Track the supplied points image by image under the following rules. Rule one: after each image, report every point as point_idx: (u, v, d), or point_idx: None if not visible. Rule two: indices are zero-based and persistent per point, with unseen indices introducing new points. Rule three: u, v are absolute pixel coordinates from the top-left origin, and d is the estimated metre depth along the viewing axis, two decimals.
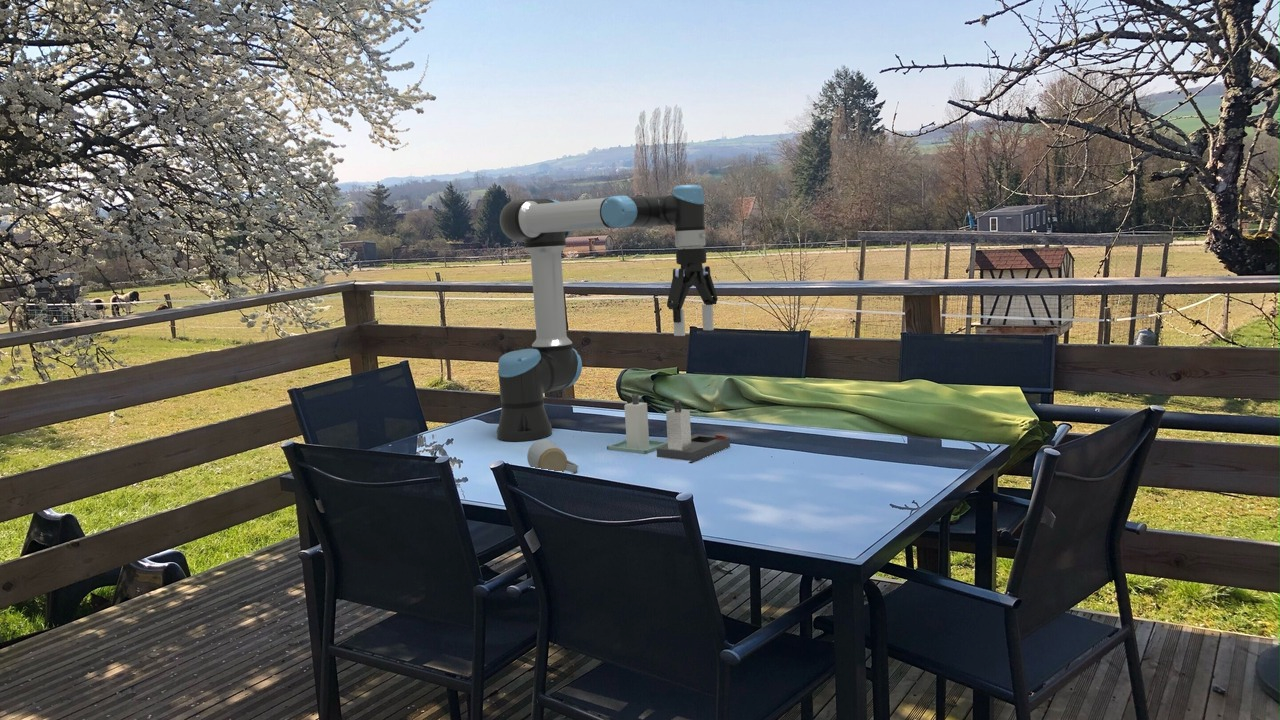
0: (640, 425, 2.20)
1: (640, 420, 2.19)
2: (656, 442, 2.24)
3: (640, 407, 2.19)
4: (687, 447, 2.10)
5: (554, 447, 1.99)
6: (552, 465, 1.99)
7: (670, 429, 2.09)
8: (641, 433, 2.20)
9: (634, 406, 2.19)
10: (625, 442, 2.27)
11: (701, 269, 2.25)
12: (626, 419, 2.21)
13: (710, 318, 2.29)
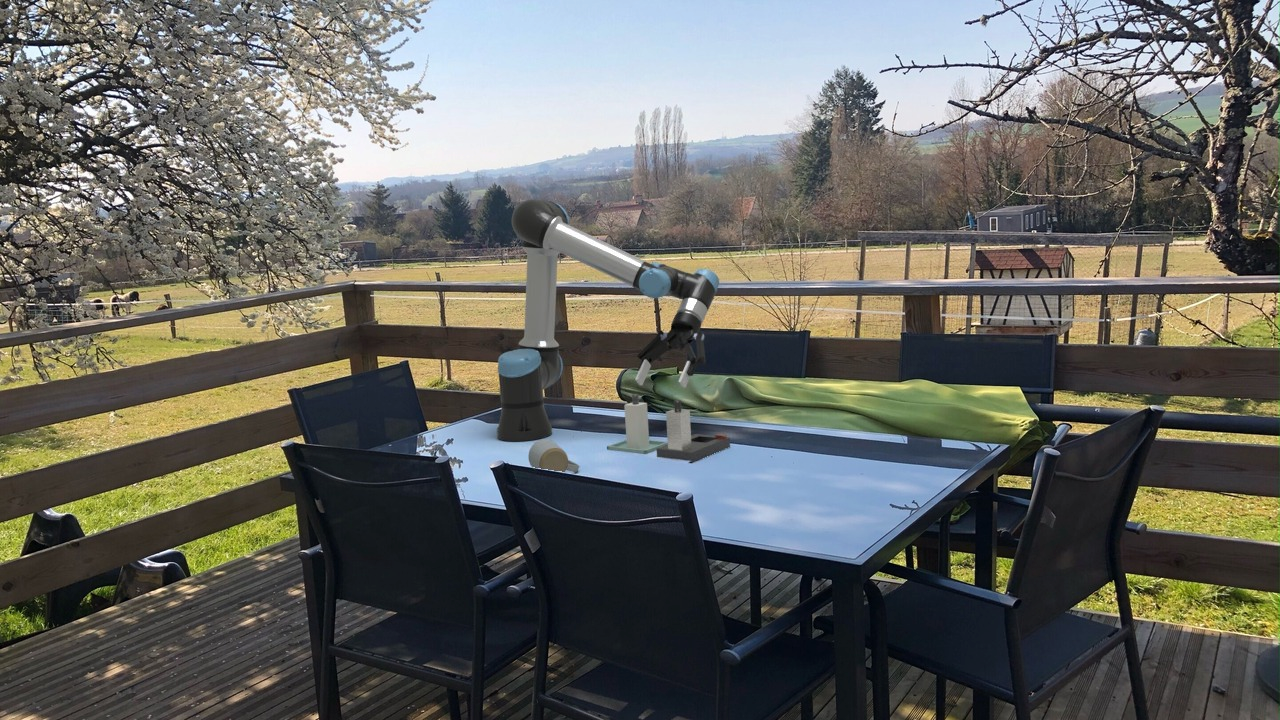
0: (640, 425, 2.20)
1: (640, 420, 2.19)
2: (656, 442, 2.24)
3: (640, 407, 2.19)
4: (687, 447, 2.10)
5: (555, 447, 2.00)
6: (553, 465, 1.99)
7: (670, 429, 2.09)
8: (641, 433, 2.20)
9: (634, 406, 2.19)
10: (625, 442, 2.27)
11: None
12: (626, 419, 2.21)
13: (645, 375, 2.35)
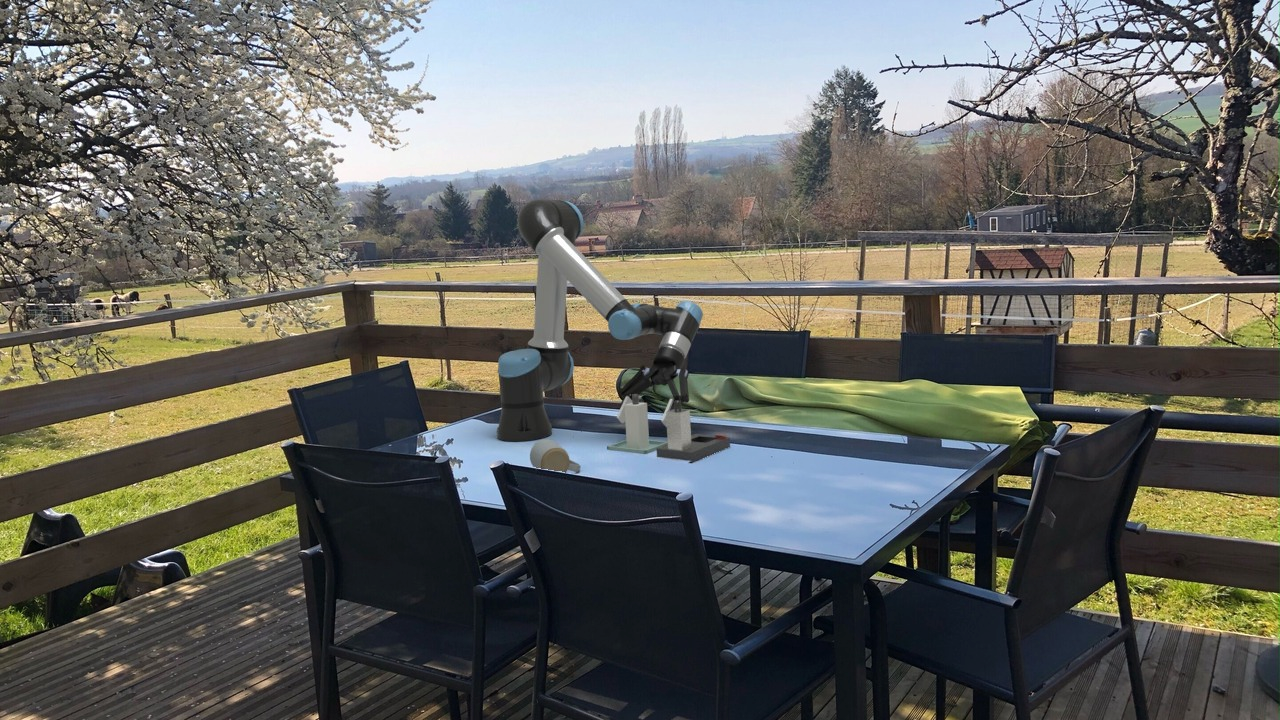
0: (640, 425, 2.20)
1: (640, 420, 2.19)
2: (656, 442, 2.24)
3: (640, 407, 2.19)
4: (687, 447, 2.10)
5: (557, 447, 2.00)
6: (555, 464, 1.99)
7: (670, 429, 2.09)
8: (641, 433, 2.20)
9: (634, 406, 2.19)
10: (625, 442, 2.27)
11: None
12: (626, 419, 2.21)
13: None
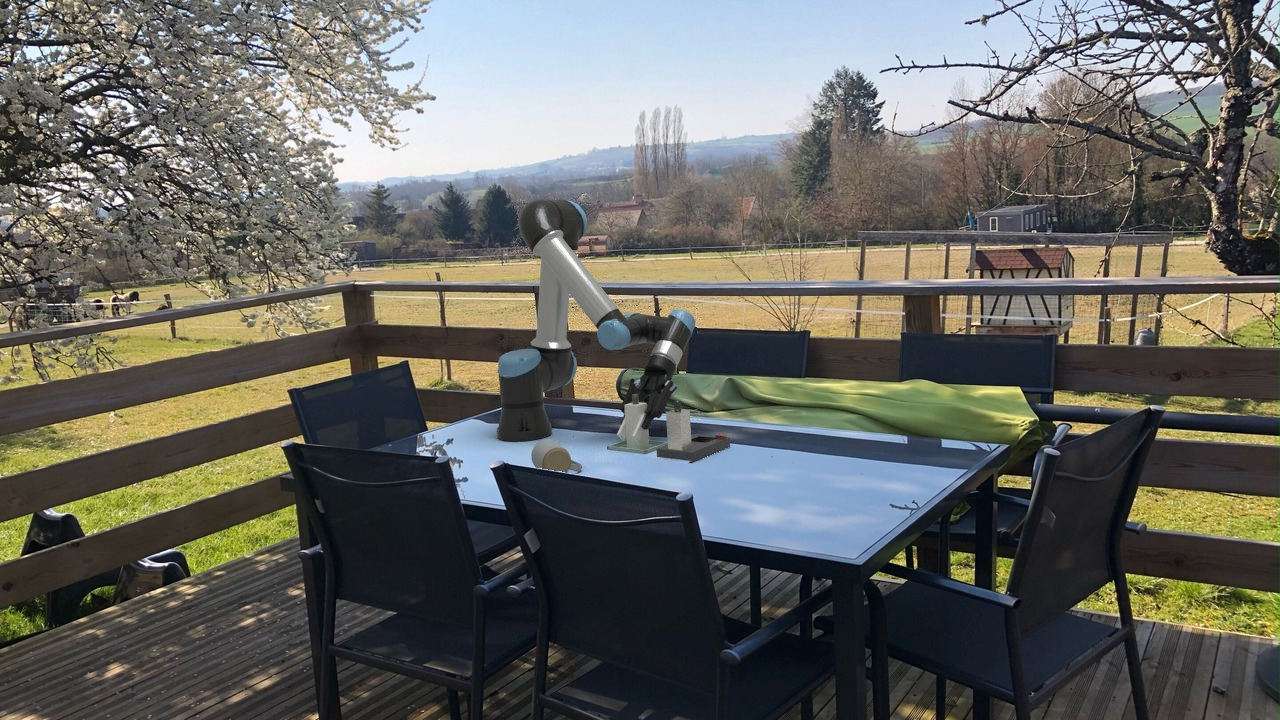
0: None
1: None
2: (656, 442, 2.24)
3: (640, 407, 2.19)
4: (687, 447, 2.10)
5: (558, 446, 2.00)
6: (556, 464, 1.99)
7: (670, 429, 2.09)
8: None
9: (634, 406, 2.19)
10: (625, 442, 2.27)
11: None
12: (626, 419, 2.21)
13: None
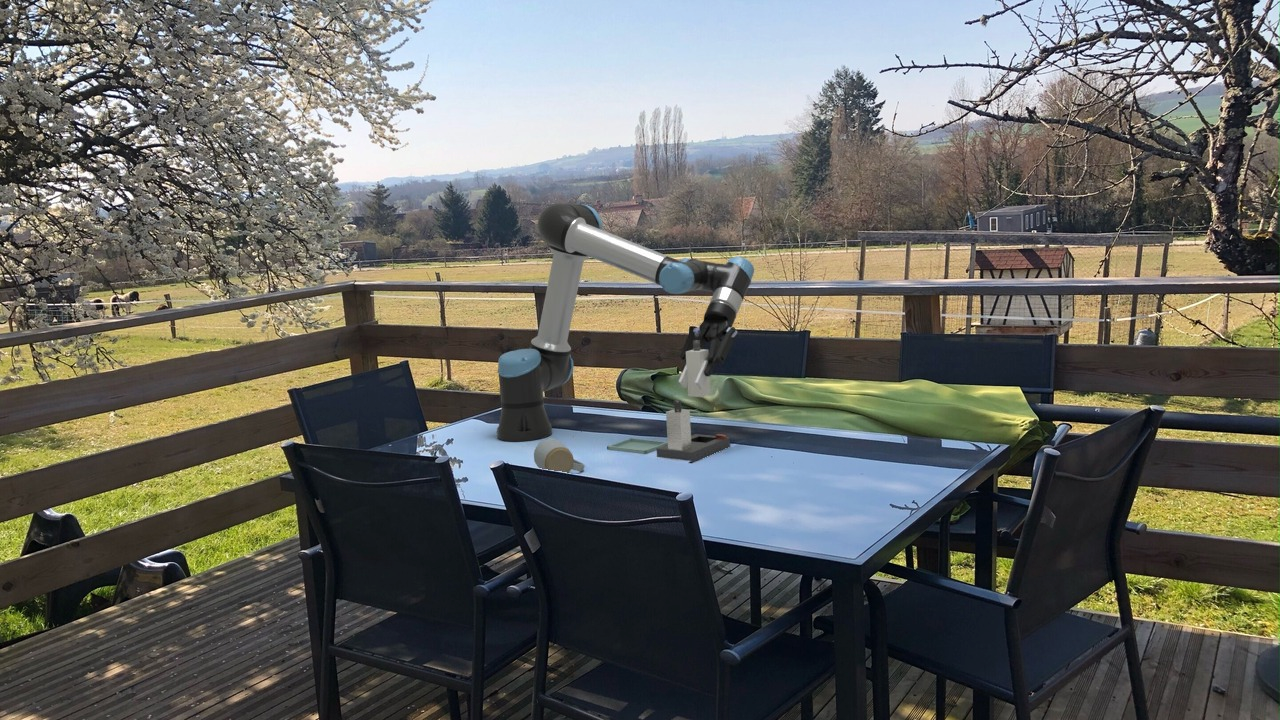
0: None
1: None
2: (656, 442, 2.24)
3: (702, 354, 2.14)
4: (687, 447, 2.10)
5: (561, 446, 2.00)
6: (559, 464, 1.99)
7: (670, 429, 2.09)
8: None
9: (696, 352, 2.13)
10: (625, 442, 2.27)
11: None
12: (687, 366, 2.15)
13: None
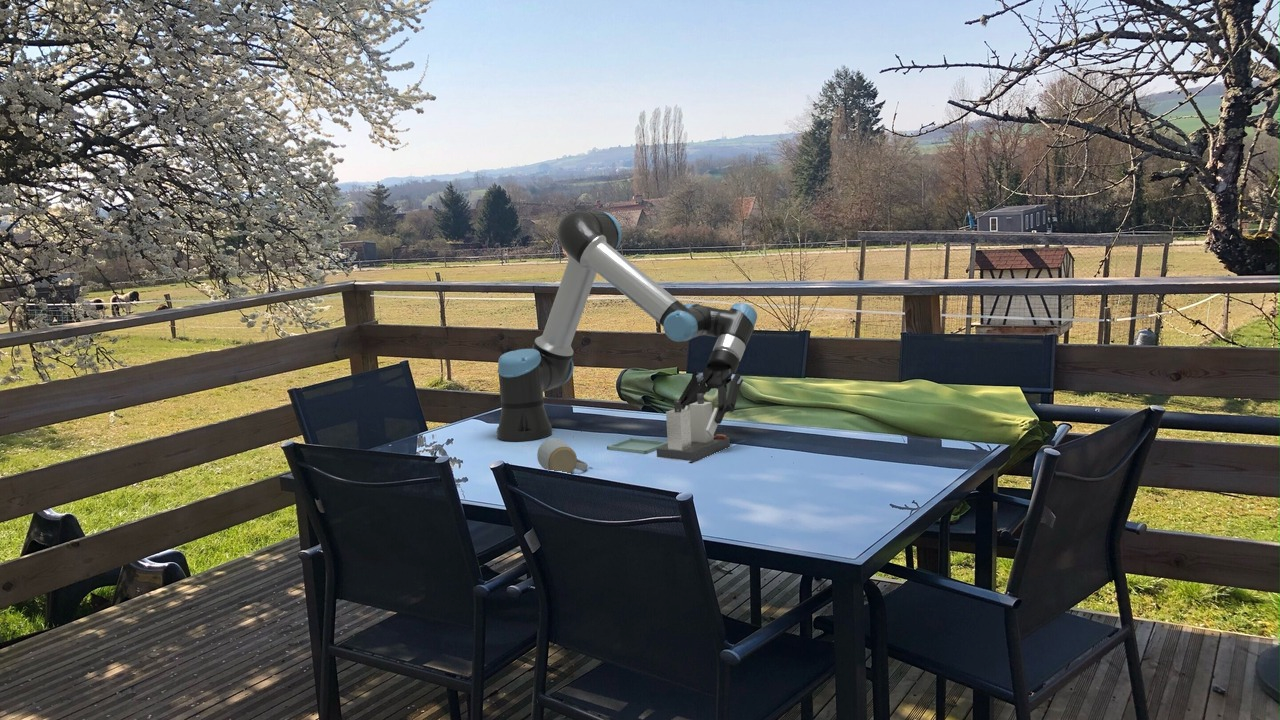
0: (706, 425, 2.16)
1: (706, 419, 2.16)
2: (656, 442, 2.24)
3: (706, 407, 2.16)
4: (687, 447, 2.10)
5: (564, 446, 2.00)
6: (562, 463, 2.00)
7: (670, 429, 2.09)
8: (707, 433, 2.16)
9: (699, 405, 2.15)
10: (625, 442, 2.27)
11: None
12: (691, 419, 2.17)
13: None
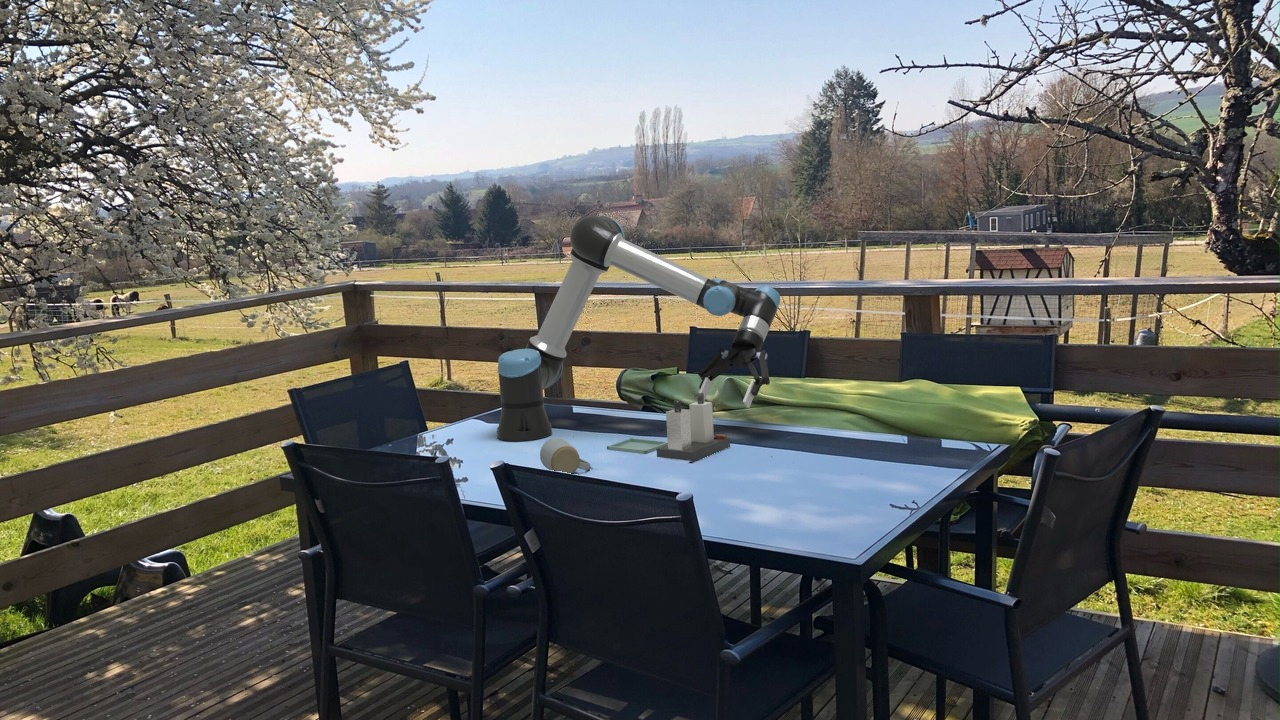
0: (706, 425, 2.16)
1: (706, 419, 2.16)
2: (656, 442, 2.24)
3: (706, 407, 2.16)
4: (687, 447, 2.10)
5: (567, 445, 2.00)
6: (565, 463, 2.00)
7: (670, 429, 2.09)
8: (707, 433, 2.16)
9: (699, 405, 2.15)
10: (625, 442, 2.27)
11: None
12: (691, 419, 2.17)
13: (706, 393, 2.32)
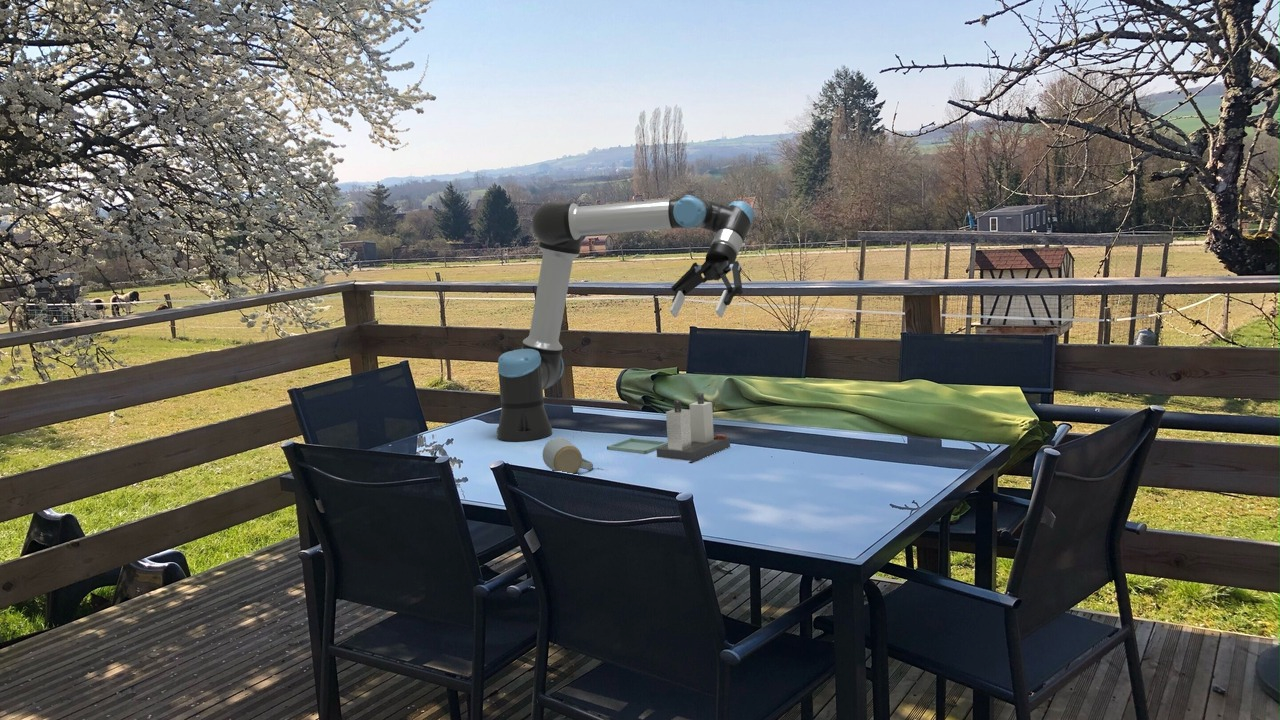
0: (706, 425, 2.16)
1: (706, 419, 2.16)
2: (656, 442, 2.24)
3: (706, 407, 2.16)
4: (687, 447, 2.10)
5: (569, 445, 2.01)
6: (567, 463, 2.00)
7: (670, 429, 2.09)
8: (707, 433, 2.16)
9: (699, 405, 2.15)
10: (625, 442, 2.27)
11: None
12: (691, 419, 2.17)
13: (680, 307, 2.29)
